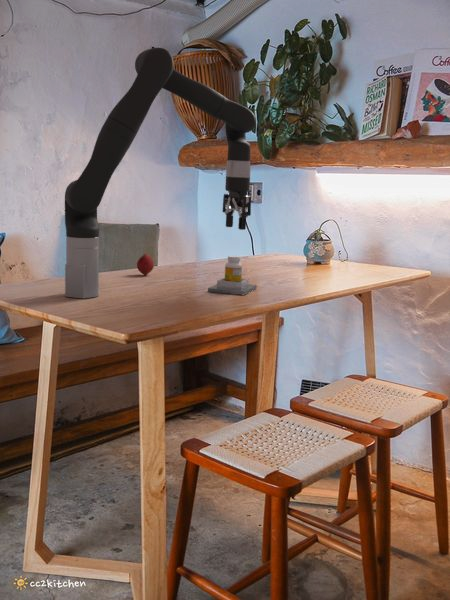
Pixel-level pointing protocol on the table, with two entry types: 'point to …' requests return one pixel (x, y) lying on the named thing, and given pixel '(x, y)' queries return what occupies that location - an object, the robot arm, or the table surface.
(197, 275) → the table surface
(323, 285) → the table surface
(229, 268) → the supplement bottle
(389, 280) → the table surface
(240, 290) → the plate
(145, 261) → the red fruit
